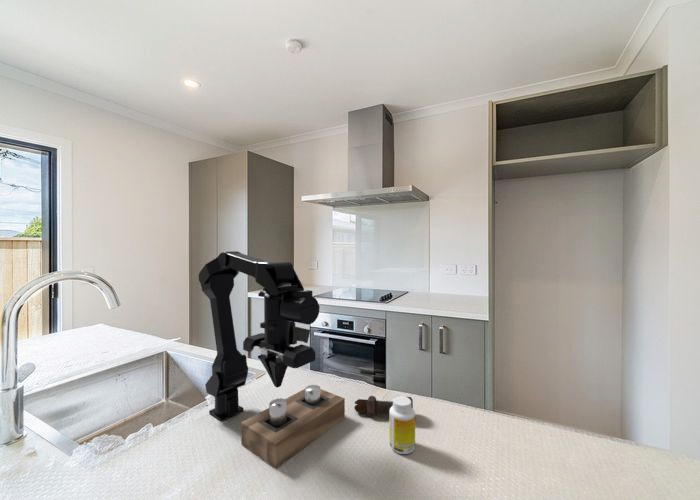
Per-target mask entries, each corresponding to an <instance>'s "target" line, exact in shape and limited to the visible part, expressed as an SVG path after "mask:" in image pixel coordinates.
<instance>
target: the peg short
mask: <svg viewBox="0 0 700 500" xmlns="http://www.w3.org/2000/svg"><path fill="white" fill-rule="evenodd" d="M304 389H305V403H306V404H308V405H311V406H315V405H316V404H318V403H320V389H321V387H320V386H319V385H318V384H310V385H307V386H306V387H305V388H304Z"/></svg>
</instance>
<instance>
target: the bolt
mask: <svg viewBox="0 0 700 500" xmlns="http://www.w3.org/2000/svg"><path fill="white" fill-rule="evenodd" d="M406 397H407V398H409V399H410V400H411V407H412V408H413V409H414V401H413V398H412V397H411V396H406ZM354 404H355V405H354V411H355V412H356V413H366V414H367V416H368V417H370V418H376V416H377V415H389V411H390V408H391V407H392V406H393V400H392V401H391V400H377V397H376V396H375V395H370V396H368V398H367V399H366V398H365V399H363V398H358V399H357V400H355V401H354Z"/></svg>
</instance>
